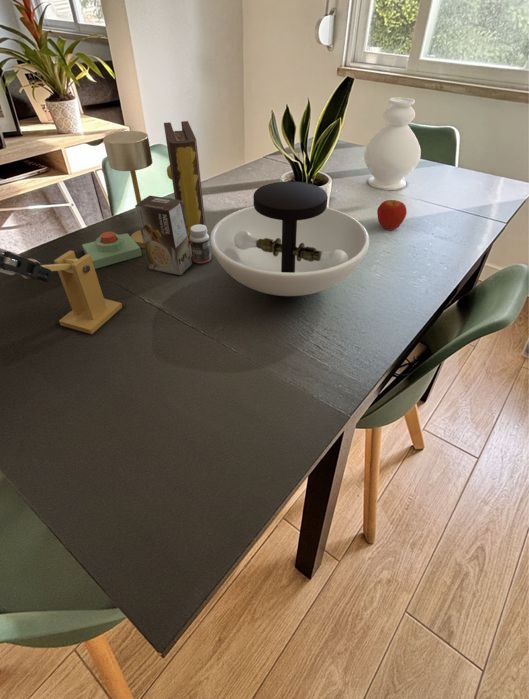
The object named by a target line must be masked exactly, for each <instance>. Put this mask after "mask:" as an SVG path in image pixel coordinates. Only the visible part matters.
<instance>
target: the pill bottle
mask: <svg viewBox="0 0 529 699" xmlns="http://www.w3.org/2000/svg"><path fill="white" fill-rule="evenodd" d="M190 232H191V235H190V244H189V246H190V254H191V260H192V262H194V263H196V264H207V263H208V262H210V261H211V260H212V253H211V243H210V236H209V234H208V226H207V225H206V224H205V225H201V224H198V225H194V226H192V227H191V228H190Z"/></svg>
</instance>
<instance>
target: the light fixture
mask: <svg viewBox="0 0 529 699" xmlns="http://www.w3.org/2000/svg"><path fill="white" fill-rule="evenodd" d="M252 197H253V198H252V199H253V205H251V206H247V207H244V208H241V209H239V210H236V211H234V212H231V213H229V214H228V215H226V216H225V217H223V218H221V219H220V220H218V222H217V223H216V224H215V225H214V226H213V228H212V230H211V232H210V236H209V241H210V248H211V251H212V253H213V255H214V257H215V258H216V260H217V262H218V263H219V264H220V266H221V267H222V268H223V270H224V271H225V272H226V273H227V274H228V275H229V276H230V277H231V278H233V280H236V281H237V282H238V283H240V284H241V285H243V286H245V287H247V288H249V289H251V290H254V291H256V292H259V293H263V294H267V295H273V296H279V297H299V296H309V295H312V294H317V293H320V292H323V291H326V290H328V289H330V288H332V287H335V286H336V285H338V284H340V283H341V282H343V281H344V280H346V279H347V278H349V277H350V276H351V275H352V274H353V273H354V271H355V270H356V269H357V268H358V267H359V266H360V265H361V263H362V262H363V260H364V258H365V256H366V254H367V252H368V250H369V246H370V236H369V233H368V230H367V229H366V228H365V226H364V225H363V224H362V223H360V221H358V220H357V219H356V218H354V217H352V216H351V215H349V214H347V213H345V212H343V211H340V210H338V209H335V208H332V207H328V198H329V197H328V193H327V191H325V189H324V188H322V187H320V186H318V185H315V184H312V183H308V182H303V181H277V182H272V183H268V184H265V185H262V186H260V187H259V188H257V189H256V190H255V191H254V193H253V196H252Z"/></svg>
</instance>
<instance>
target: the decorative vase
mask: <svg viewBox="0 0 529 699" xmlns="http://www.w3.org/2000/svg"><path fill="white" fill-rule="evenodd" d="M415 102H416V100H415V99H414V98H411V97H404V96H395V97H390V98H389V99H388V103H389V104H390V106H388V107H387V108H386V109H385V110H384V112H383V119H384V120H385V121H386V123H387V124H385V125H384V126H382V128H381V129H379V130H378V131H377V132H376V133H375V134H374V135H373V136H372V138H371V139H370V140H369V141H368V142H367V145H366V146H365V150H364V153H363V159H364V163H365V165H366V167H367V169H368V171H369V172H370V174H371V175H372V176H371V177H369V178H368V179H367V180H368V181H367V182H368V185H369V186H371V187H373V188H375V189H377V190H378V189H379V190H384V191H397V190H401V189H404V188H405V187H406V186H407V181H406V180H405V178H406V177H407V176H408V175H409V174H411V173H412V171H414V170H415V168H417V166H418V164H419V163H420V160H421V154H422V150H421V146H420V143H419V140H418V138H417V137H416V134H415V132H414V131H413V130H412V129H411V127H410V125H409V124H411V123H412V121H413V120H414V119H415V118H416V111H415V109H414V108H413V107H412V105H414V104H415Z"/></svg>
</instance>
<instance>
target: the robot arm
mask: <svg viewBox="0 0 529 699" xmlns="http://www.w3.org/2000/svg"><path fill="white" fill-rule="evenodd" d="M29 259H30V258H27V257H23V256H20V255H19V253H16V252H13V251H11V250H7V249H4V248H1V247H0V273H2V274H5V275H8V276H14V275H20V276H22V275H23V276H25V277H27V278H29V277H30V278H31V279H36V280H37V281H40V282H44V283H49V281H50V279H51V275H52V271H51V270H50V269H47V268H45V267H42V266H41V265H42V263H40V262H39V261H38V262H36V261H35V262H34V261H31V260H29ZM23 276H22V277H23Z"/></svg>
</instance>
